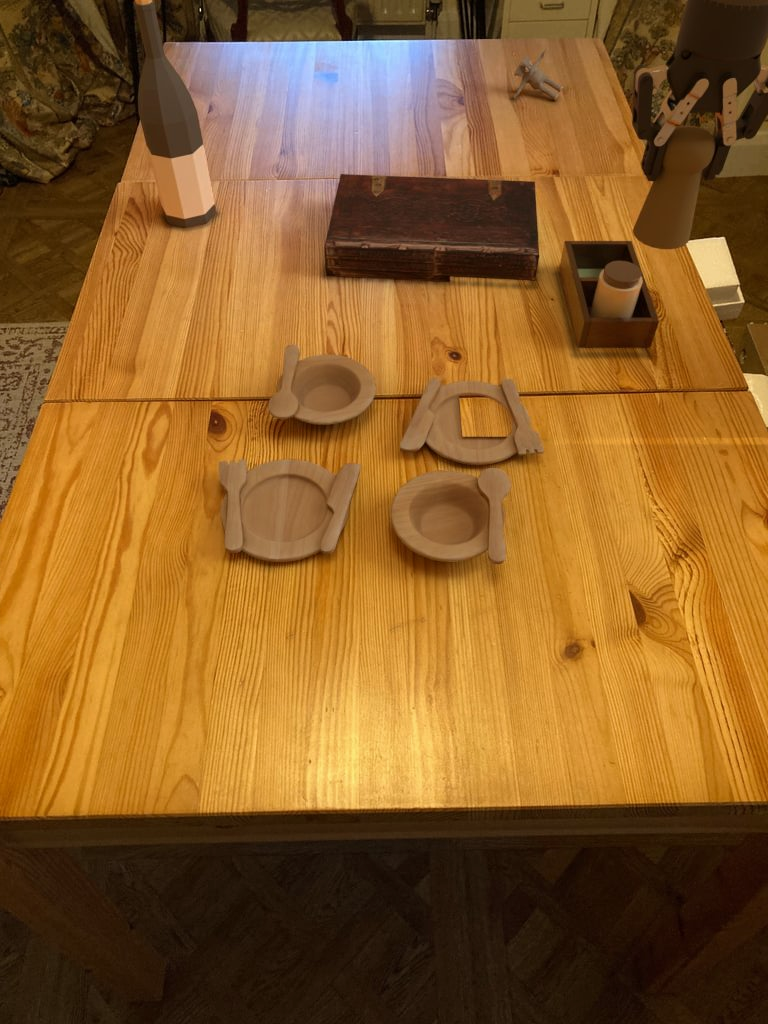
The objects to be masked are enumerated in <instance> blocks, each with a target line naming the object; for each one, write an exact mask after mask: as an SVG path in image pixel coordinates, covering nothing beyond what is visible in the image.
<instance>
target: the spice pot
mask: <svg viewBox="0 0 768 1024" xmlns="http://www.w3.org/2000/svg"><path fill="white" fill-rule="evenodd" d="M641 270H642V269H641ZM641 270H640V269H639V267H637V266H636V265H635V264H633V263H630V262H627V261H613V262H610V263H608V264H607V265H606V266H605V269H603V270H602V271H601V273H600V275H599V279H598V283H597V287H596V291H595V295H594V299H593V303H592V307H591V311H590V315H589V316H590V318H632V315H633V312H634V309H635V306H636V302H637V299H638V296H639V292H640V289H641V286H642V282H643V280H642V277H641Z"/></svg>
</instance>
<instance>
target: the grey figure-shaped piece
mask: <svg viewBox="0 0 768 1024" xmlns="http://www.w3.org/2000/svg"><path fill="white" fill-rule="evenodd" d="M546 52H547V48H545V49H544V50H543V51H542V52H541V54H540V56H539V58H538V59H537V60H536V61H534V62H533V63H532V60H531V59H530V58H529V54H527V55H525V56H524V57H523V59H522V61H521V62H520V63H519V64H518V65H517V66H518V67H517V69H515V71H514V73H513V76H514V77H517V76H518V77H520V78H521V81H520V84H519V86H518V89H517V91H516V92H515V94H514V96H513V98H512V99H513V100H514V99H516V98H517V97H518V96H519V95H520V93H521V91H522V90H523V89H524V88H525V87H526V85H527V84H529V85H530V87H531V88H532V89H533V90H539V91H540V92H542V93H544V94H545V95H547V97H549V98H551V99H552V100H553V101H556V100H557V99H558V97H559V94H558V93H561V91H562V90H563V88H564V86H563V85H561V84H559V83H557V82H556V81H555V80H553V79H552V78H551V77H549V76H546V74H545V72H544V71H543V70H539V69H538V68H539V67H540V63H541V61H542V60H544V57H545V54H546ZM546 85H548V86H549V87H551V88H552V89H554V90H555V91H557V92H558V93H556V92H554V90H552V89H550V88H549V87H548V86H546Z"/></svg>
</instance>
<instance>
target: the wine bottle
mask: <svg viewBox="0 0 768 1024" xmlns="http://www.w3.org/2000/svg"><path fill="white" fill-rule="evenodd" d="M133 8H134V9H135V13H136V17H137V22H138V26H139V31H140V35H141V39H142V45H143V48H144V53H145V57H144V62H143V67H142V71H141V73H140V77H139V83H138V91H137V110H138V111H137V113H138V117H139V120H140V121H139V122H140V125H141V128H142V133H143V137H144V140H145V145H146V149H147V153H148V157H149V161H150V166H151V169H152V173H153V177H154V181H155V186H156V189H157V193H158V197H159V202H160V205H161V209H162V212H163V215H164V217H165V218H166V220H167V222H168V225H170V226H171V225H172V226H175V227H179V228H180V227H181V228H185V229H187V228H193V227H196V226H201V225H206V224H207V223H208V222H209V221H210V220H211V219H212V218H213V217H214V216H215V215H216V203H215V199H214V194H213V189H212V183H211V178H210V172H209V167H208V161H207V156H206V152H205V146H204V140H203V136H202V135H203V134H202V130H201V129H202V128H201V124H200V119H199V114H198V110H197V107H196V105H195V102H194V100H193V98H192V94H191V93H190V92H189V90H188V88H187V86H186V84H185V81H184V80H183V79H182V77H181V75H180V74H179V73H178V72H177V70H176V68H175V67H174V66H173V64H171V62H170V60H169V58H167V56H166V53H165V49H164V45H163V40H162V35H161V29H160V25H159V20H158V15H157V10H156V3H155V0H134V1H133Z"/></svg>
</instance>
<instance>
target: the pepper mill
mask: <svg viewBox="0 0 768 1024" xmlns="http://www.w3.org/2000/svg"><path fill="white" fill-rule="evenodd" d="M713 136H714V135H713V134H712V133H711V132H710V131H708V129H705V128H703V127H700V126H696V125H688V124H687V125H686V124H685V125H680V126H677V127H676V128H675V129H674V131H673V132H672V134H671V135H670V137H669V138H668V140H667V141H666V143H665V145H666V149H665V153H664V156H663V160H662V163H661V167H660V170H659V173H658V177H657V180H656V181H652V184H651V186H650V188H649V191H648V193H647V195H646V198H645V200H644V203H643V204H642V207H641V209H640V212H639V214H638V216H637V219H636V221H635V222H634V225H633V229H632V233H633V236H634V237H635V239H636V240H637V241H639V242H640V243H641V244H643V245H644V246H648V247H649V248H654V249H659V250H676V249H679V248H683V247H684V246H685V245H687V244H688V243H689V241H690V238H691V233H692V227H693V221H694V217H695V212H696V206H697V201H698V196H699V191H700V185H701V180H702V170H703V169H704V168H705V167H707V166H708V165H709V163H710V161H711V160H712V157H713V155H714V151H715V140H714V137H713Z"/></svg>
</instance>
